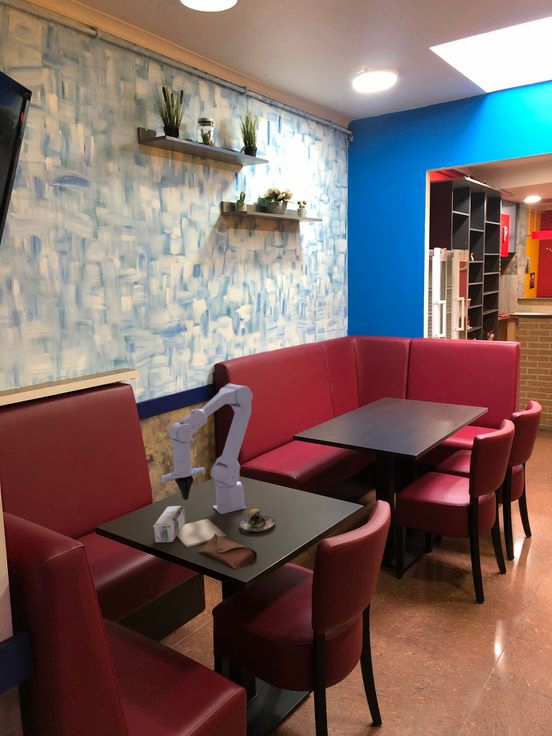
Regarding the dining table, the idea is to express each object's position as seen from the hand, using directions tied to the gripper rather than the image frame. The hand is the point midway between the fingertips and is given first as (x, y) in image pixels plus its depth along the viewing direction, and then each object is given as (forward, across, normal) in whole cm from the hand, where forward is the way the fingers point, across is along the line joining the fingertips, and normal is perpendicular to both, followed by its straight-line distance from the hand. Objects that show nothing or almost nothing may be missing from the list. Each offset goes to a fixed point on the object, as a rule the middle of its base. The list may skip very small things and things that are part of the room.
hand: (185, 498), depth 194 cm
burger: (+9, -18, +17) cm, 26 cm away
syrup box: (+5, +3, -1) cm, 6 cm away
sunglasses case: (+9, -1, +29) cm, 31 cm away
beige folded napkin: (+8, 0, +10) cm, 13 cm away
